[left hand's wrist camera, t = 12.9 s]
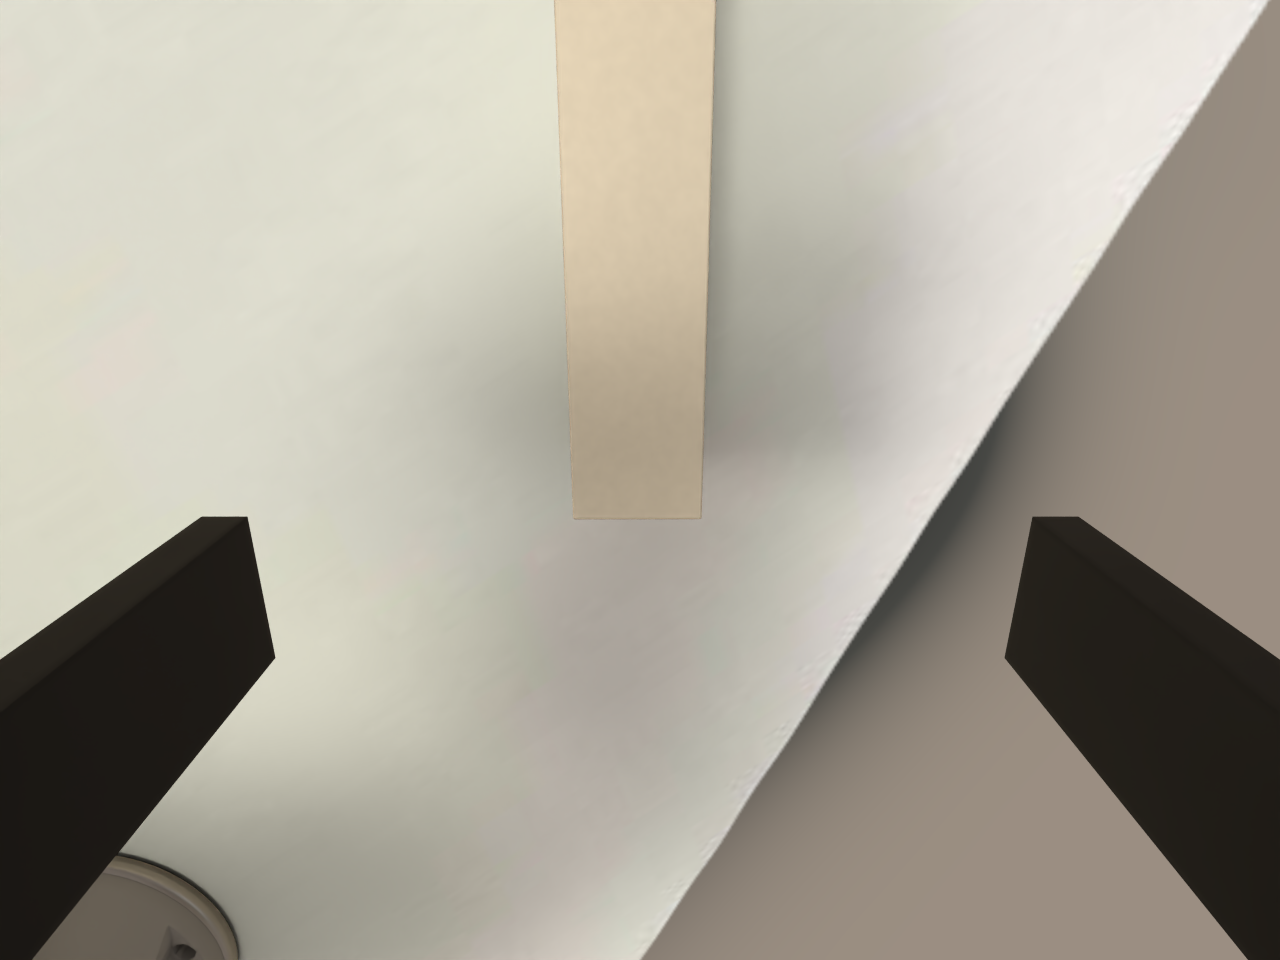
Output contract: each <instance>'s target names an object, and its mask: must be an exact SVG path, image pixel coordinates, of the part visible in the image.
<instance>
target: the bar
mask: <svg viewBox="0 0 1280 960" xmlns="http://www.w3.org/2000/svg"><path fill="white" fill-rule="evenodd" d="M554 8H555V35H556V62H557V90H558V117H559V144H560V171H561V198H562V226H563V253H564V280H565V307H566V335H567V362H568V389H569V416H570V444H571V471H572V498H573V518H574V519H701V517H702V481H703V446H704V411H705V376H706V340H707V305H708V270H709V235H710V199H711V164H712V129H713V94H714V58H715V23H716V0H554Z"/></svg>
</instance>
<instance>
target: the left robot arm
mask: <svg viewBox="0 0 1280 960" xmlns="http://www.w3.org/2000/svg"><path fill="white" fill-rule="evenodd" d="M274 659H275V653H274V648H273V643H272V638H271V633H270V628H269V623H268V618H267V613H266V608H265V603H264V598H263V593H262V588H261V583H260V578H259V573H258V568H257V563H256V558H255V553H254V548H253V542H252V537H251V532H250V527H249V522H248V517H200V518H199V519H198V520H196V521H195V522H193V523H192V524H191V525H189V526H188V527H186V528H185V529H184V530H182V531H181V532H179V533H178V534H177V535H175V536H174V537H172V538H171V539H169V540H168V541H167V542H165V543H164V544H162V545H161V546H160V547H158V548H157V549H155V550H154V551H153V552H151V553H150V554H148V555H147V556H146V557H144V558H143V559H141V560H140V561H138V562H137V563H136V564H134V565H133V566H131V567H130V568H129V569H127V570H126V571H124V572H123V573H122V574H120V575H119V576H117V577H116V578H115V579H113V580H112V581H110V582H109V583H107V584H106V585H105V586H103V587H102V588H100V589H99V590H98V591H96V592H95V593H93V594H92V595H91V596H89V597H88V598H86V599H85V600H84V601H82V602H81V603H79V604H78V605H77V606H75V607H74V608H72V609H71V610H69V611H68V612H67V613H65V614H64V615H62V616H61V617H60V618H58V619H57V620H55V621H54V622H53V623H51V624H50V625H48V626H47V627H46V628H44V629H43V630H41V631H40V632H38V633H37V634H36V635H34V636H33V637H31V638H30V639H29V640H27V641H26V642H24V643H23V644H22V645H20V646H19V647H17V648H16V649H15V650H13V651H12V652H10V653H9V654H7V655H6V656H5V657H3V658H2V659H0V960H238V952H237V946H236V942H235V939H234V936H233V933H232V931H231V929H230V927H229V925H228V923H227V921H226V920H225V918H224V917H223V916H222V914H221V913H220V911H219V910H218V909H217V908H216V907H215V906H214V904H213V903H212V902H211V901H210V900H208V899H207V898H206V897H205V896H204V895H203V894H202V893H201V892H199V891H198V890H197V889H196V888H194V887H193V886H191V885H190V884H188V883H187V882H185V881H184V880H182V879H180V878H179V877H177V876H175V875H173V874H171V873H169V872H167V871H165V870H163V869H161V868H158V867H156V866H153V865H150V864H147V863H145V862H142V861H138V860H134V859H131V858H126V857H121V856H116V855H117V854H118V852H119V851H120V850H121V849H122V847H123V846H124V845H125V844H126V843H127V841H128V840H129V839H130V838H131V836H132V835H133V834H134V833H135V831H136V830H137V829H138V828H139V826H140V825H141V824H142V823H143V821H144V820H145V819H146V818H147V816H148V815H149V814H150V813H151V811H152V810H153V809H154V808H155V807H156V805H157V804H158V803H159V802H160V800H161V799H162V798H163V797H164V795H165V794H166V793H167V792H168V790H169V789H170V788H171V787H172V785H173V784H174V783H175V782H176V780H177V779H178V778H179V777H180V776H181V774H182V773H183V772H184V771H185V769H186V768H187V767H188V766H189V764H190V763H191V762H192V761H193V759H194V758H195V757H196V756H197V754H198V753H199V752H200V751H201V749H202V748H203V747H204V746H205V744H206V743H207V742H208V741H209V740H210V738H211V737H212V736H213V735H214V733H215V732H216V731H217V730H218V728H219V727H220V726H221V725H222V723H223V722H224V721H225V720H226V718H227V717H228V716H229V715H230V713H231V712H232V711H233V710H234V709H235V707H236V706H237V705H238V704H239V702H240V701H241V700H242V699H243V697H244V696H245V695H246V694H247V692H248V691H249V690H250V689H251V687H252V686H253V685H254V684H255V682H256V681H257V680H258V679H259V678H260V676H261V675H262V674H263V673H264V671H265V670H266V669H267V668H268V666H269V665H270V664H271V663H272V661H273V660H274ZM1005 659H1006V660H1007V661H1008V663H1009V664H1010V665H1011V666H1012V668H1013V669H1014V670H1015V671H1016V673H1017V674H1018V675H1019V676H1020V678H1021V679H1022V680H1023V681H1024V682H1025V684H1026V685H1027V686H1028V687H1029V689H1030V690H1031V691H1032V692H1033V694H1034V695H1035V696H1036V697H1037V699H1038V700H1039V701H1040V702H1041V704H1042V705H1043V706H1044V707H1045V708H1046V710H1047V711H1048V712H1049V713H1050V715H1051V716H1052V717H1053V718H1054V720H1055V721H1056V722H1057V723H1058V725H1059V726H1060V727H1061V728H1062V730H1063V731H1064V732H1065V733H1066V735H1067V736H1068V737H1069V738H1070V740H1071V741H1072V742H1073V743H1074V744H1075V746H1076V747H1077V748H1078V749H1079V751H1080V752H1081V753H1082V754H1083V756H1084V757H1085V758H1086V759H1087V761H1088V762H1089V763H1090V764H1091V766H1092V767H1093V768H1094V769H1095V771H1096V772H1097V773H1098V774H1099V776H1100V777H1101V778H1102V779H1103V780H1104V782H1105V783H1106V784H1107V785H1108V787H1109V788H1110V789H1111V790H1112V792H1113V793H1114V794H1115V795H1116V797H1117V798H1118V799H1119V800H1120V802H1121V803H1122V804H1123V805H1124V807H1125V808H1126V809H1127V810H1128V811H1129V813H1130V814H1131V815H1132V816H1133V818H1134V819H1135V820H1136V821H1137V823H1138V824H1139V825H1140V826H1141V828H1142V829H1143V830H1144V831H1145V833H1146V834H1147V835H1148V836H1149V838H1150V839H1151V840H1152V841H1153V842H1154V844H1155V845H1156V846H1157V847H1158V849H1159V850H1160V851H1161V852H1162V854H1163V855H1164V856H1165V857H1166V859H1167V860H1168V861H1169V862H1170V864H1171V865H1172V866H1173V867H1174V869H1175V870H1176V871H1177V872H1178V873H1179V875H1180V876H1181V877H1182V878H1183V880H1184V881H1185V882H1186V883H1187V885H1188V886H1189V887H1190V888H1191V890H1192V891H1193V892H1194V893H1195V895H1196V896H1197V897H1198V898H1199V900H1200V901H1201V902H1202V903H1203V904H1204V906H1205V907H1206V908H1207V909H1208V911H1209V912H1210V913H1211V914H1212V916H1213V917H1214V918H1215V919H1216V921H1217V922H1218V923H1219V924H1220V926H1221V927H1222V928H1223V929H1224V931H1225V932H1226V933H1227V934H1228V936H1229V937H1230V938H1231V939H1232V940H1233V942H1234V943H1235V944H1236V945H1237V947H1238V948H1239V949H1240V950H1241V952H1242V953H1243V954H1244V955H1245V957H1246V958H1247V959H1248V960H1280V659H1278V658H1277V657H1275V656H1274V655H1272V654H1271V653H1270V652H1268V651H1267V650H1265V649H1264V648H1263V647H1261V646H1260V645H1258V644H1257V643H1256V642H1254V641H1253V640H1251V639H1250V638H1249V637H1247V636H1246V635H1244V634H1243V633H1242V632H1240V631H1239V630H1237V629H1236V628H1234V627H1233V626H1232V625H1230V624H1229V623H1227V622H1226V621H1225V620H1223V619H1222V618H1220V617H1219V616H1218V615H1216V614H1215V613H1213V612H1212V611H1211V610H1209V609H1208V608H1206V607H1205V606H1203V605H1202V604H1201V603H1199V602H1198V601H1196V600H1195V599H1194V598H1192V597H1191V596H1189V595H1188V594H1187V593H1185V592H1184V591H1182V590H1181V589H1179V588H1178V587H1177V586H1175V585H1174V584H1173V583H1171V582H1170V581H1168V580H1167V579H1165V578H1164V577H1163V576H1161V575H1160V574H1158V573H1157V572H1156V571H1154V570H1153V569H1151V568H1150V567H1149V566H1147V565H1146V564H1144V563H1143V562H1142V561H1140V560H1139V559H1137V558H1136V557H1134V556H1133V555H1132V554H1130V553H1129V552H1127V551H1126V550H1125V549H1123V548H1122V547H1120V546H1119V545H1118V544H1116V543H1115V542H1113V541H1112V540H1111V539H1109V538H1108V537H1106V536H1105V535H1103V534H1102V533H1101V532H1099V531H1098V530H1096V529H1095V528H1094V527H1092V526H1091V525H1089V524H1088V523H1087V522H1085V521H1084V520H1082V519H1081V518H1079V517H1033V518H1032V522H1031V527H1030V532H1029V537H1028V542H1027V548H1026V553H1025V558H1024V563H1023V568H1022V573H1021V578H1020V583H1019V588H1018V593H1017V598H1016V603H1015V608H1014V613H1013V618H1012V623H1011V628H1010V633H1009V638H1008V643H1007V648H1006V653H1005Z"/></svg>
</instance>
